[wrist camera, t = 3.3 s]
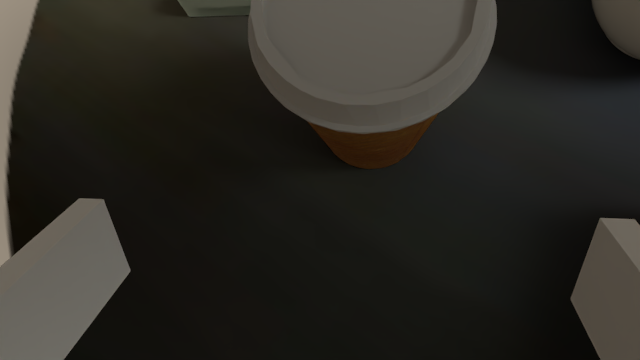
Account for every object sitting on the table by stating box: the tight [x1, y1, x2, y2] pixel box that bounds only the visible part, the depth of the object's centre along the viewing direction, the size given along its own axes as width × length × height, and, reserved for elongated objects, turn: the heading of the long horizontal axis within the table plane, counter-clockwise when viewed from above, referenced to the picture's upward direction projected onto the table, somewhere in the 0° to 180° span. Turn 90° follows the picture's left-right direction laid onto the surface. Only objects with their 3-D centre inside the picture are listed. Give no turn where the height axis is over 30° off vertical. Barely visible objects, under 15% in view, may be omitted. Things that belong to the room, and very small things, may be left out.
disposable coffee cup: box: [248, 0, 497, 169], centre depth 20 cm, size 10×10×12 cm
